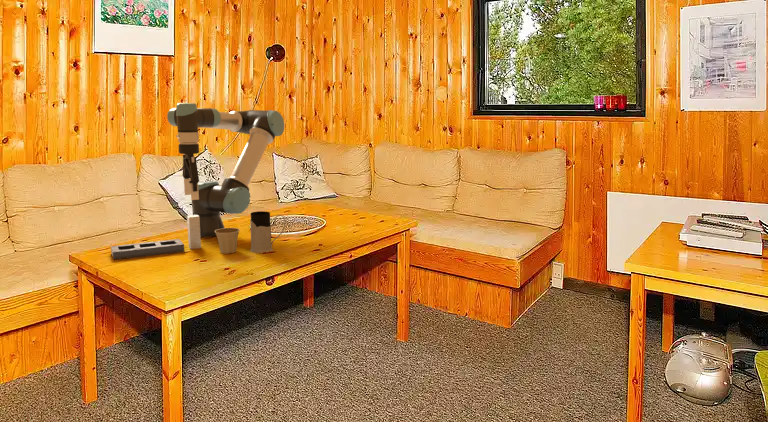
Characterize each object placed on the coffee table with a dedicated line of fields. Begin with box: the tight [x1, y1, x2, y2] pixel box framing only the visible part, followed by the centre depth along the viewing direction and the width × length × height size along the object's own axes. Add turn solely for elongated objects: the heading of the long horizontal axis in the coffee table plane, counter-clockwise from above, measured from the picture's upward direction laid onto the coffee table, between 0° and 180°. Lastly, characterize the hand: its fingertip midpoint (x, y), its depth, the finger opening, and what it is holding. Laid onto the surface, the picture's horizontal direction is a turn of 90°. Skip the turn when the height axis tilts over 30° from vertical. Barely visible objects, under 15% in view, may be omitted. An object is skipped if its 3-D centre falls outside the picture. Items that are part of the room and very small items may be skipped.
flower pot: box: [215, 227, 241, 255], centre depth 214 cm, size 9×9×9 cm
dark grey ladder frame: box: [110, 238, 185, 260], centre depth 212 cm, size 25×10×3 cm, turn 120°
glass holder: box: [250, 210, 287, 254], centre depth 218 cm, size 9×14×15 cm, turn 111°
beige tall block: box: [186, 214, 202, 250], centre depth 220 cm, size 4×4×13 cm
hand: (191, 197), depth 217 cm, fingers open, 13 cm apart
